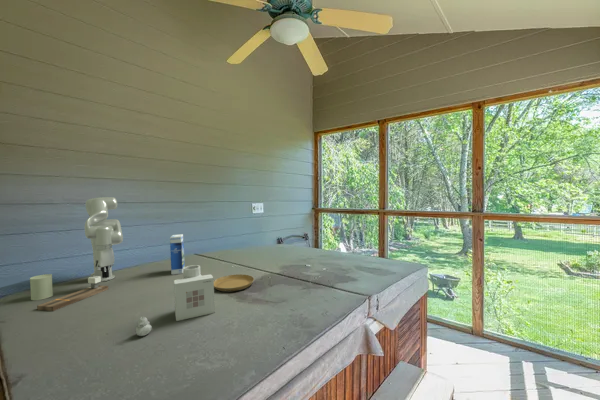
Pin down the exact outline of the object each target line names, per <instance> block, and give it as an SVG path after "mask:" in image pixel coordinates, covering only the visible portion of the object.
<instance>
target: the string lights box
mask: <svg viewBox="0 0 600 400" xmlns="http://www.w3.org/2000/svg"><path fill="white" fill-rule="evenodd" d="M169 242H170V243H169V245H170V249H169V250H170V267H171V268H170V269H171V270H170V271H171V272H170V273H171V275H181V274H183V268H184V267H186V265H185V248H184V247H185V246H184V234H183V233H181V234H172V235H171V236H170V237H169Z"/></svg>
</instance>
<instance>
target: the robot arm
mask: <svg viewBox="0 0 600 400" xmlns="http://www.w3.org/2000/svg"><path fill="white" fill-rule="evenodd" d="M117 208H118V200H117V198H116V197H111V196H108V197H107V196H106V197H105V196H104V197H102V196H101V197H94V198H89V199H87V200H86V201H85V209H86V212H87V214H88V216H89V217H88V218H87V219H86V220H85V223H84V235H85V238H86V239H89V240H90V243H91V246H92V247H91V248H92V256H93V272H92V273H91V274H90V277H91V276H101V282H100V283H102V282H106V281H107V282H108V281H110V280H114V279H115V277H116V275H115V274H113V272H112V271H113V266H114V265H115V253H114V249H113V247H112V246H115V245H119V244H122V243H123V240H124V235H123V231H122V225H121V222H120V220H118V219H117V218H115V219H114V218H113V219H111V218H110V219H107V218H108V217H109V210H111V211H112V210H117Z"/></svg>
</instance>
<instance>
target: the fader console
mask: <svg viewBox="0 0 600 400" xmlns="http://www.w3.org/2000/svg"><path fill="white" fill-rule="evenodd" d="M108 290H109V285H99V284H98V287H96V288H91V286H88V287H86V288H83V289H80V290H78V291H75V292H71V293H69V294H65V295H63V296H59V297H57V298H55V299H51V300H49V301H46V302H44V303H41V304H37V305H36V310H38V311H47V312H48V311H49V312H55V311H57V310H60V309H61V308H65V307H67V306H70V305H73V304H74V303H76V302H80V301H82V300H85V299H87V298H89V297H92V296H94V295H98V294H100V293H103V292H104V291H108Z"/></svg>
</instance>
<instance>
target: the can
mask: <svg viewBox="0 0 600 400" xmlns="http://www.w3.org/2000/svg"><path fill="white" fill-rule="evenodd" d="M29 284H30V285H29V286H30V300H31V301H40V300H41V301H42V300H44V299H48V298H51V297H53V296H54V291H53V290H54V289H53V274H52V273H46V274H45V273H43V274H40V275H35V276H34V275H33V276H31V277H30V278H29Z"/></svg>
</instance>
